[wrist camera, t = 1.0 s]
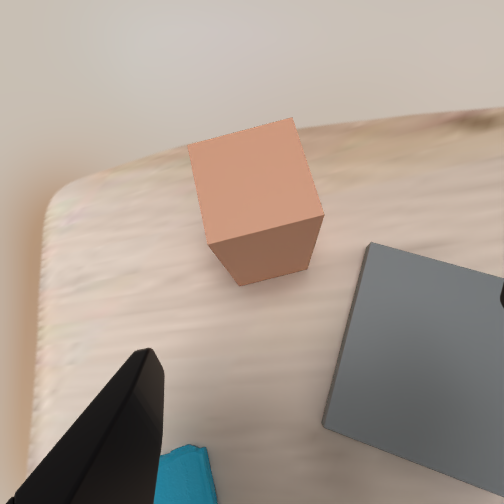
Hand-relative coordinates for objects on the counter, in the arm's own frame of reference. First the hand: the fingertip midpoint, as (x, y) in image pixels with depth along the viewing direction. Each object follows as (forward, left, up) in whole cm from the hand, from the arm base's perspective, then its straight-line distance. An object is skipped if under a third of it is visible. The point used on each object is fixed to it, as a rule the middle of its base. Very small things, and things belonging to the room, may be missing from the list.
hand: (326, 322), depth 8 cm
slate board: (+1, -8, -14) cm, 16 cm away
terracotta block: (+5, +4, -14) cm, 16 cm away
